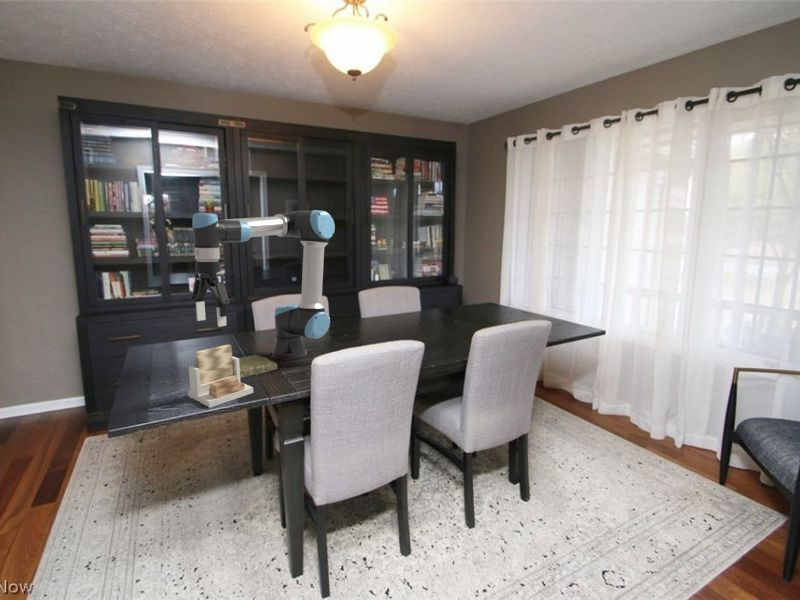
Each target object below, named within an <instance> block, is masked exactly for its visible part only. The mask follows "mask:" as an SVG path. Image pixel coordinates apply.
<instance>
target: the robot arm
mask: <svg viewBox="0 0 800 600" xmlns="http://www.w3.org/2000/svg"><path fill="white" fill-rule="evenodd" d="M191 227H192V228H191V229H192V233H193V245H194V246H193V247H194V248H193V249H194V251H193V254H194V260H196V261H195V262H194V263H195V264H194V265H195V272H196V273H195V274H194V283H193V288H192V294H191V299H192V300H193V301H194V302H195V310H196V311H195V312H196V321H197V322H199V321H200V322H201V321H206V305H205V304H206V303H205V296H206V293H207V292H208V290H209V291H211V294H212V297H214V301H215V302H216V318H217V319H216V320H217V327H219V328H221V327H225V326H227V306H231V305H230V304H231V303H230V300H229V297H228V292H227V289H226V286H225V283H224V277H223V276H222V275H220V276H218V273H220V272H221V262H220V261H219V260H220V259H221V257H220V256H221V254H220V243H245V242H247V241H249V240H250V239H251V238H257V237H267V236H278V237H281V238H283V237H290V238H298V239H299V238H300V240H299V242H300V243H301V245H302V246H303V252H302V253H303V254H302V256H303V257H302V274H301V275H302V278H301V279H302V280H301V298H300V303H292V304H286V305H285V304H284V305H278V306H277V307H275V309H274V326H275V341H274V345H273V349H272V357H273V358H274V359H275V360H276V359H277V360H281V361H283V360H284V361H286V360H290V361H291V360H297V359H301V358H304V357H305V356H307V354H308V353H307V351H308V349H307V347H306V343H305V341H304V339H303V337H305V338H309V339H320V338H322V337H324V336H325V334H326V333H327V332H328V331H329V328H330V325H331V320H330V317H329V314H328V313H326V312H325V308H326V307H325V306H324V304H323V303H322V300H323V298H322V297H323V279H324V260H325V247H326V246H327V245H329V239H331V238H332V237H333V235H334V234H335V228H336V226H335V222H334V219H333V217H332V215H331V214H330V213H329V212H327V211H325V210H318V209H315V210H314V209H313V210H312V209H311V210H295V211H290V212H286V213H285V212H284V213H276V214H275V215H274V216H264V217H263V216H262V217H244V218H243V217H242V218H241V217H240V218H230V219H229V218H228V219H227V218H225V219H219V218H218V214H216V213H208V212H206V213H204V212H196V213H194V214H193V215H192V226H191Z"/></svg>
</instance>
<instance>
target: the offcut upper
mask: <svg viewBox="0 0 800 600" xmlns="http://www.w3.org/2000/svg"><path fill="white" fill-rule="evenodd" d="M238 385H239V381H238V379H236V378H233V377H230V378H227V379H223V380H220V381H217V382H213V383H210V389H211V390H213V391H215V392H219V391H222V390H225V389H228V388H231V387H234V386H238Z"/></svg>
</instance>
